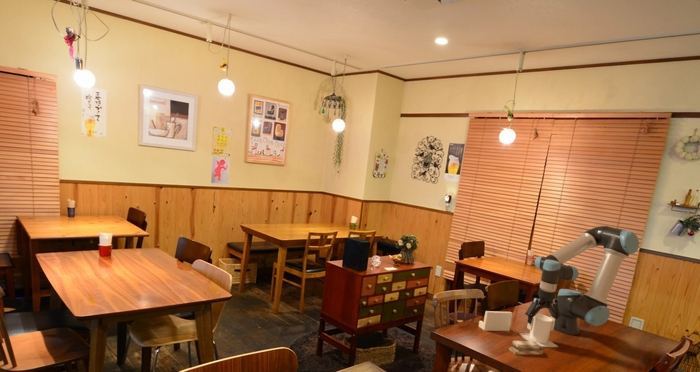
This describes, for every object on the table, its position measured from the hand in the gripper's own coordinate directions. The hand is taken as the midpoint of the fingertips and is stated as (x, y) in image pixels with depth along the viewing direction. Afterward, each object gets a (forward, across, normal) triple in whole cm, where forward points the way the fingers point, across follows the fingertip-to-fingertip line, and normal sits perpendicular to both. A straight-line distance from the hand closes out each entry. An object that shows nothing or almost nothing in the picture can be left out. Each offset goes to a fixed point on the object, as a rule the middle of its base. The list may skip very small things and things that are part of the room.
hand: (540, 329), depth 191 cm
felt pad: (+6, 0, 0) cm, 6 cm away
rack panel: (+6, -18, +13) cm, 23 cm away
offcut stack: (+6, -18, -11) cm, 22 cm away
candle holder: (+6, 0, 0) cm, 6 cm away
